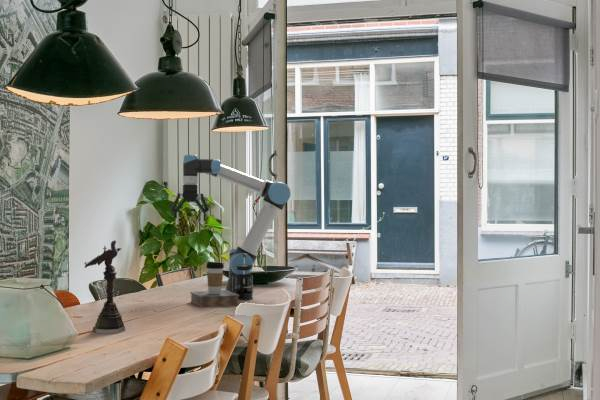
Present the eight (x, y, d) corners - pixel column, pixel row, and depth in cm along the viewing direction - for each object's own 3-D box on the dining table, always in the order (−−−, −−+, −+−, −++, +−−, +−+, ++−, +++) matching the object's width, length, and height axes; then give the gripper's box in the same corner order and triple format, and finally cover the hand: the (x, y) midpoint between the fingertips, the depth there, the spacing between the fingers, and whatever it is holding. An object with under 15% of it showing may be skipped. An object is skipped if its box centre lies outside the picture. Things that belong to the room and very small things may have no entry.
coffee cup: (207, 291, 353) (208, 261, 353) (224, 292, 353) (225, 261, 352) (204, 294, 345) (204, 262, 345) (221, 294, 344) (222, 263, 344)
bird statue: (73, 332, 270) (74, 239, 270) (90, 326, 283) (92, 237, 283) (114, 335, 267) (115, 240, 266) (130, 329, 279) (131, 238, 279)
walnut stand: (227, 300, 361) (227, 290, 361) (239, 305, 344) (239, 295, 344) (189, 301, 354) (190, 291, 354) (200, 307, 336) (201, 296, 336)
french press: (255, 297, 372) (256, 253, 372) (252, 300, 363) (252, 254, 363) (233, 296, 374) (234, 252, 374) (229, 299, 365) (229, 253, 365)
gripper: (168, 183, 372) (167, 224, 372) (215, 184, 382) (214, 224, 382) (165, 183, 379) (164, 224, 379) (211, 184, 389) (210, 224, 389)
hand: (189, 224), depth 380 cm, fingers open, 13 cm apart
